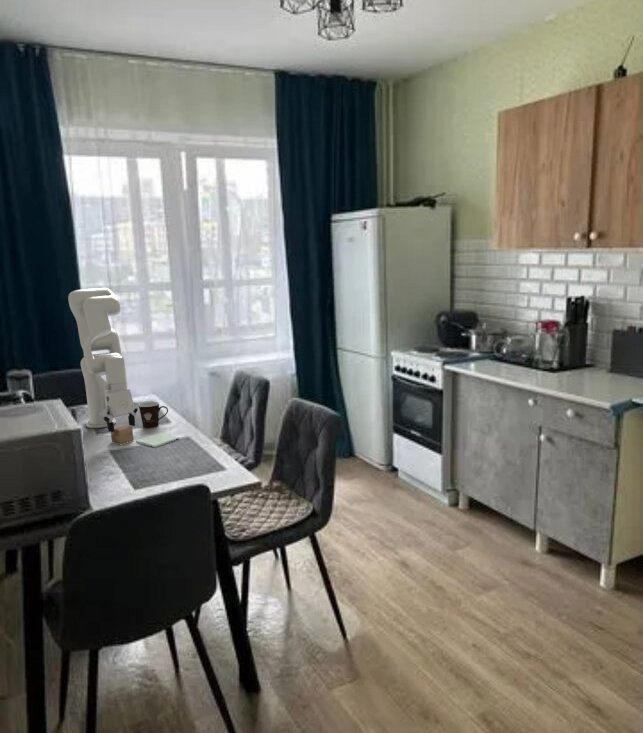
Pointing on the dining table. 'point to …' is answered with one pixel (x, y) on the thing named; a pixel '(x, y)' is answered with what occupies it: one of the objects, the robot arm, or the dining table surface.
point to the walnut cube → (122, 434)
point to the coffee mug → (150, 414)
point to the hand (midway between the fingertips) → (121, 428)
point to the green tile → (157, 439)
